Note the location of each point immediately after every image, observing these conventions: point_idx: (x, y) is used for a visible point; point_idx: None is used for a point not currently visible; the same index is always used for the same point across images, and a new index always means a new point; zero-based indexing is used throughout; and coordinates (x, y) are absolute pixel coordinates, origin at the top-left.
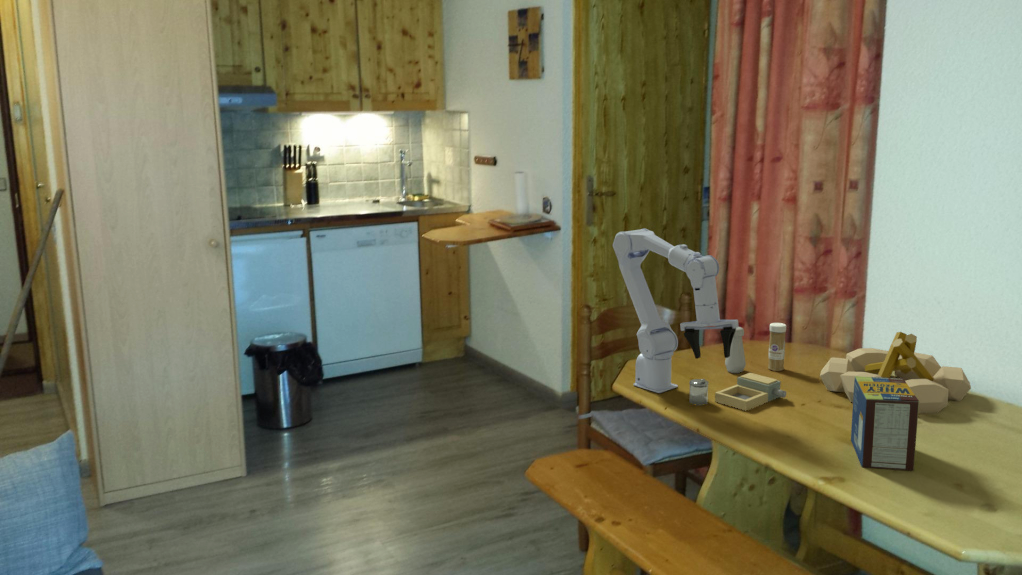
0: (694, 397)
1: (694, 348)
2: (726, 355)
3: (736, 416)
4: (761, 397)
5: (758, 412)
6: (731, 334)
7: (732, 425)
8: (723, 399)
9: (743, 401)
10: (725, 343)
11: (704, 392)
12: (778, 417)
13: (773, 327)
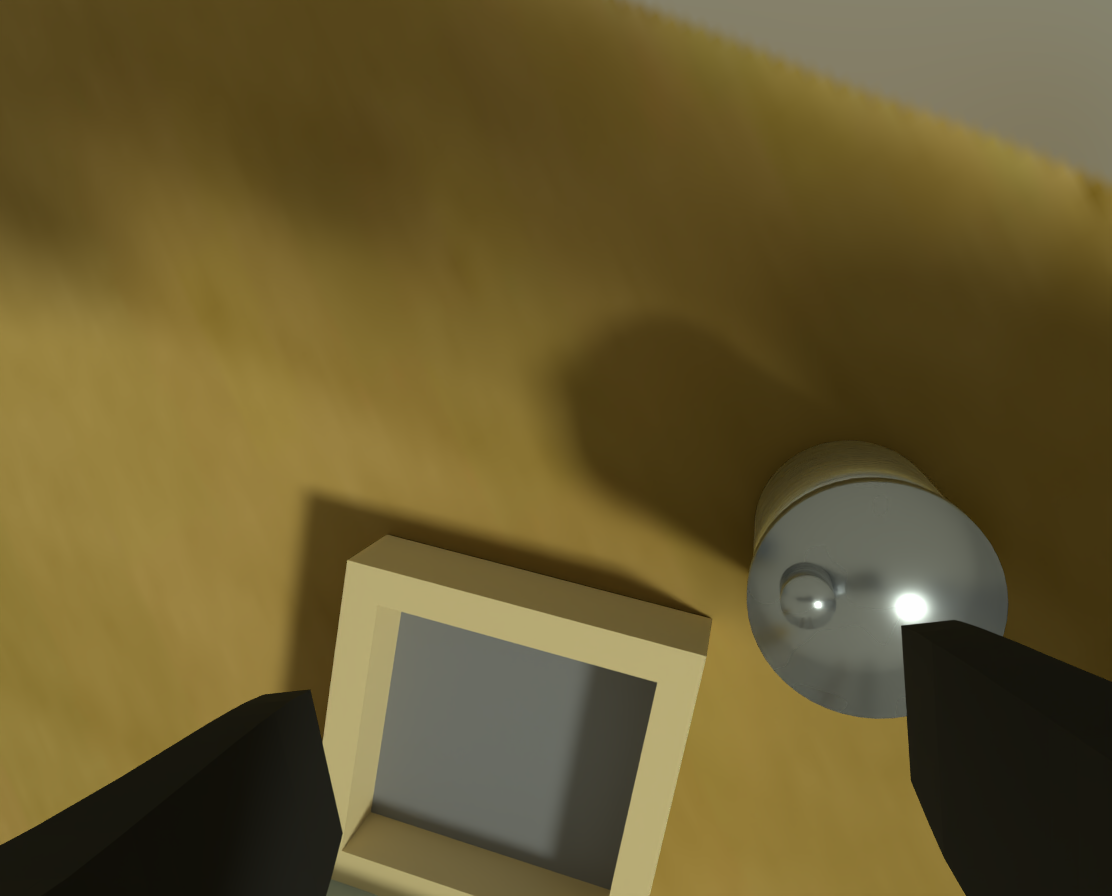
0: (861, 456)
1: (1057, 699)
2: (244, 707)
3: (393, 370)
4: None
5: (300, 560)
6: None
7: (323, 142)
8: (608, 610)
9: (380, 566)
10: (34, 853)
11: (764, 522)
12: (144, 535)
13: None
